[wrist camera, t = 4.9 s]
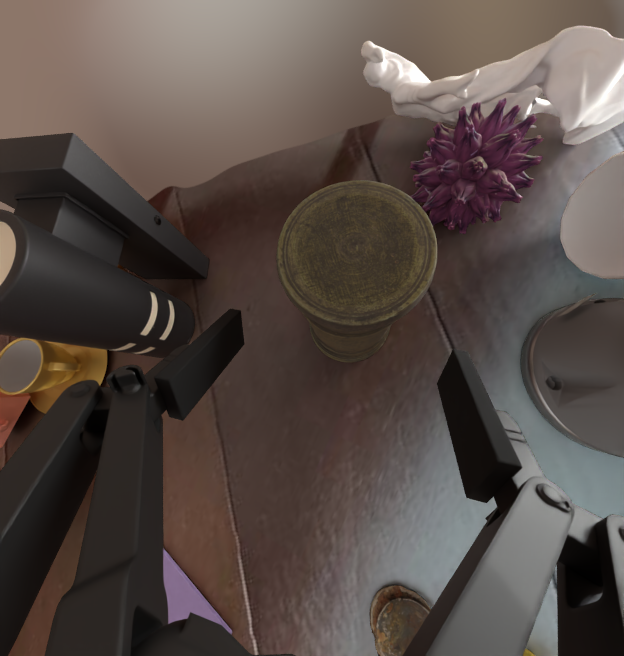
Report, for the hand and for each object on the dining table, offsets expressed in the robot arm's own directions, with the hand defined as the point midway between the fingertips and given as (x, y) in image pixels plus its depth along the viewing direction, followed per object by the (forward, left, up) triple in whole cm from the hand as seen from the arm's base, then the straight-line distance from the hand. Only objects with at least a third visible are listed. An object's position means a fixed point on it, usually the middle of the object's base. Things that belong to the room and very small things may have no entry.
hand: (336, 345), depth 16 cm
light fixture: (+23, +8, -14) cm, 28 cm away
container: (+2, -4, -14) cm, 15 cm away
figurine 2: (-10, -40, -7) cm, 42 cm away
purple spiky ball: (+1, -24, -14) cm, 28 cm away
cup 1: (+28, +22, -14) cm, 39 cm away
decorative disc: (-19, +16, -15) cm, 29 cm away
